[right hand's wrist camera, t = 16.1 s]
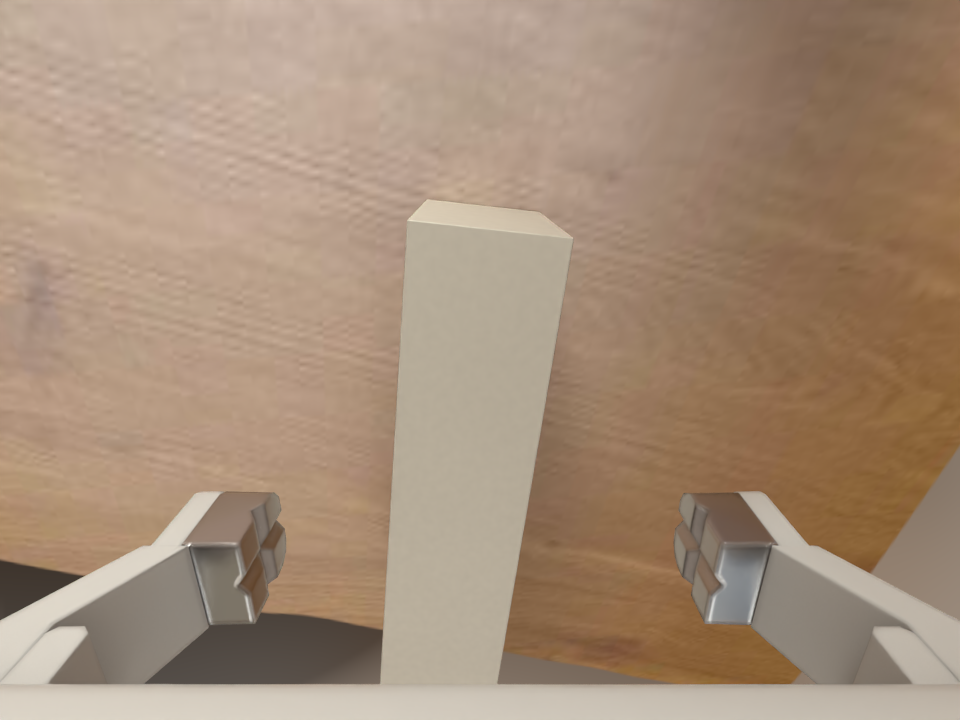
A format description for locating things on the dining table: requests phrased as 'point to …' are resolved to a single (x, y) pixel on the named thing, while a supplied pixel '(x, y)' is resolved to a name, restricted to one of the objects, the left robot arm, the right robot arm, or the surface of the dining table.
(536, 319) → the box
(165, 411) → the dining table surface
